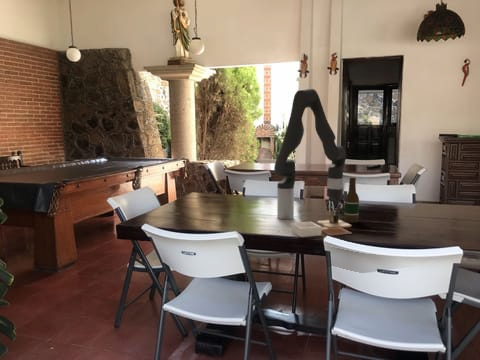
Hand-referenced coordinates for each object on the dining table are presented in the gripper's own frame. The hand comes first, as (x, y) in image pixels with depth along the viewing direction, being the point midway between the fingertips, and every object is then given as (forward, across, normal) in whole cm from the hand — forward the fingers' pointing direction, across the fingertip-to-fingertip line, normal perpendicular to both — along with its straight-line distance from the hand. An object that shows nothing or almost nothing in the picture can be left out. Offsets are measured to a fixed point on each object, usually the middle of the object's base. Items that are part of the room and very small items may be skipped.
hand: (333, 221), depth 189 cm
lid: (+2, 0, 0) cm, 2 cm away
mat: (+5, 0, 0) cm, 5 cm away
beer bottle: (+5, -13, +19) cm, 24 cm away
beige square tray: (+5, 0, -15) cm, 16 cm away
